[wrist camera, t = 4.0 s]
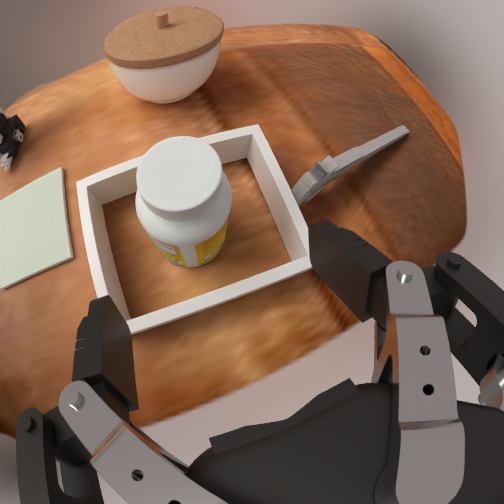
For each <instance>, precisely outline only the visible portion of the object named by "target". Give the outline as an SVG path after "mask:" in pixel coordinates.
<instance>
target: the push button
mask: <svg viewBox="0 0 504 504" xmlns="http://www.w3.org/2000/svg"><path fill="white" fill-rule="evenodd" d="M24 130H25V125H24V124H23V122H22V121H21V120H20V118H19V117H18V116H17V115H14V116H12V117H11V118H9V116H8V115H6V114H5V113H4V111H3V110H2V109H1V107H0V158H1V160H2V161H1V166H0V167H1V168H2V167H4V166H5V165H6V166H5V172H6V171H7V170H9V169H10V164H11V161H12V159H13V158H15V157H16V156H17V152H18V147H19V142H23V134H22V132H23V131H24ZM20 138H21V139H20ZM3 162H4V164H2V163H3ZM8 165H9V167H8V168H7V166H8Z"/></svg>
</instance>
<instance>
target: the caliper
mask: <svg viewBox="0 0 504 504" xmlns="http://www.w3.org/2000/svg"><path fill="white" fill-rule="evenodd" d="M408 133H409V131H408V129H407V128H406V127H405V126H404V125H402V126H400V127H398V128H396V129H394V130H392V131H390V132H387V133H385V134H383V135H381V136H379V137H377V138H375V139H373V140H371V141H369V142H367V143H365V144H363V145H361V146H359V147H354V148H352V149H350V150H348V151H346V152H344V153H342V154H340V155H338V156H336V157H334V158H331V157H330V156H327V157H326V158H325V159H324V160H323V161H322V162H320V161H319V160H318V161H317V163H316V164H315V165H314V166H313V168H312V169H311V170H310V171H308V172H306V173H305V174H304V175H303V176H302V177H301V178H300V180H299V181H298V182H297V183H296V185H295V186H294V187H293V188H292V189H291V192H292V194H293V196H294V198H295V200H296V202H297V204H298V207H299V205H300V204H301V203H302V202H303V203H304V204H306V203H307V202H309V201H310V200H311V199H312V198H313V197H314V196H315V195H316V194H317V193H318V192H319V191H320V190H322V189H323V188H324V187H325V186H326V185H327V184H328V183H329V182H331V181H332V180H335V179H337V178H339V177H340V176H342V175H343V174H346V173H347V172H348V171H349V170H350V169H351V168H352V167H354V166H355V165H357V164H359V163H360V162H362V161H364V160H365V159H367V158H369V157H370V156H372V155H374V154H375V153H377V152H379V151H380V150H382V149H384V148H386V147H387V146H389V145H391V144H392V143H394V142H396V141H398V140H399V139H401V138H402V137H404V136H405V135H406V134H408Z"/></svg>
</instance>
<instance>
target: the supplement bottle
mask: <svg viewBox="0 0 504 504" xmlns="http://www.w3.org/2000/svg"><path fill="white" fill-rule="evenodd" d="M136 182H137V187H138V189H137V193H136V201H135V204H136V211H137V215H138V218H139V220H140V223H141V224H142V226H143V228H144V229H145V231H146V232H147V234H148V235H149V237H150V238H151V239H152V241H153V242H154V244H155V245H156V247H157V248H158V250H159V251H160V252H161V254H162V255H163V256H164V257H165V258H166V259H167V260H169V261H170V262H172V263H173V264H175V265H178V266H182V267H197V266H200V265H203V264H205V263H207V262H209V261H210V260H211V259H213V258H214V257H215V256H216V255H217V253H218V252H219V251H220V249H221V247H222V246H223V243H224V240H225V235H226V230H227V225H228V220H229V215H230V210H231V205H232V191H231V186H230V183H229V180H228V178H227V176H226V175H225V173H224V172H223V171H222V164H221V160H220V157H219V156H218V154H217V152H216V151H215V150H214V149H213V147H212V146H210V145H209V144H208V143H206V142H205V141H203V140H200V139H198V138H195V137H190V136H176V137H171V138H168V139H165V140H162V141H160V142H159V143H157V144H155V145H154V146H153V147H151V148H150V149H149V150H148V151H147V152H146V153H145V154H144V156H143V157H142V159H141V161H140V163H139V165H138V169H137V173H136Z"/></svg>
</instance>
